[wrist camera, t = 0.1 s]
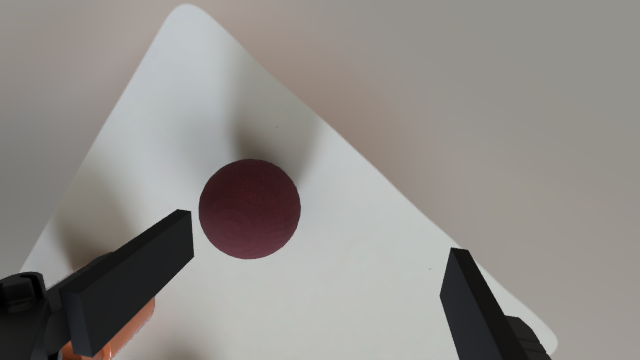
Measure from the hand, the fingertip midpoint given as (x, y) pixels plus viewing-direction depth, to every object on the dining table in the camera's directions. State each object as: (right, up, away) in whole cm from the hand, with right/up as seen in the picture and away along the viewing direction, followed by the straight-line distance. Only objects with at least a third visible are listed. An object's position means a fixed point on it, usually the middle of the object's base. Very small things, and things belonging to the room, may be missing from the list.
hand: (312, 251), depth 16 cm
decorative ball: (-6, +2, +21) cm, 22 cm away
